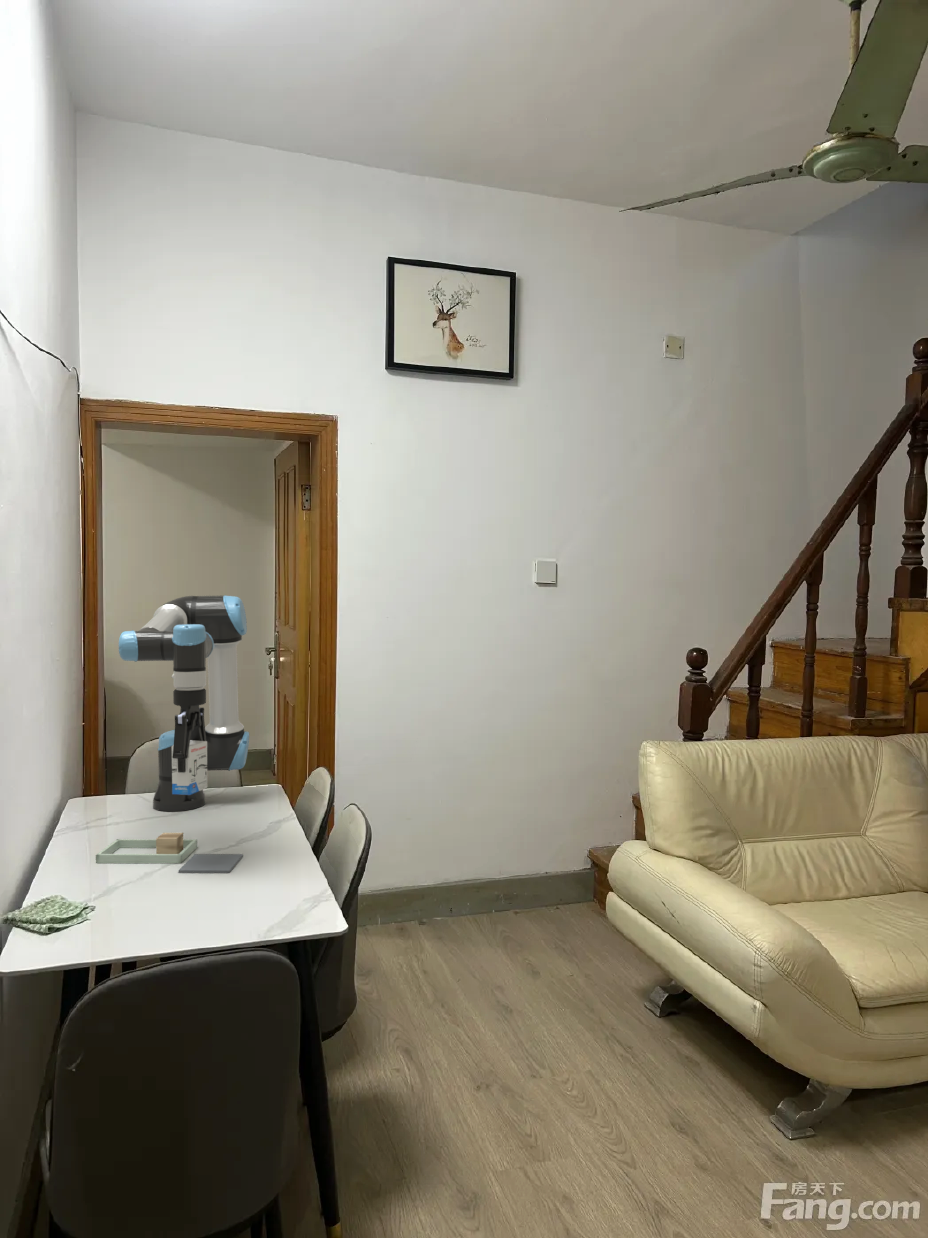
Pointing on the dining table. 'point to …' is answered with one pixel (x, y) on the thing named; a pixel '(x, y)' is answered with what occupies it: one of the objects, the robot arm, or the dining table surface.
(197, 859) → the rubber mat
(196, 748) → the ink box
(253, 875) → the dining table surface
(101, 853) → the parts tray
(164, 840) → the kraft cube
